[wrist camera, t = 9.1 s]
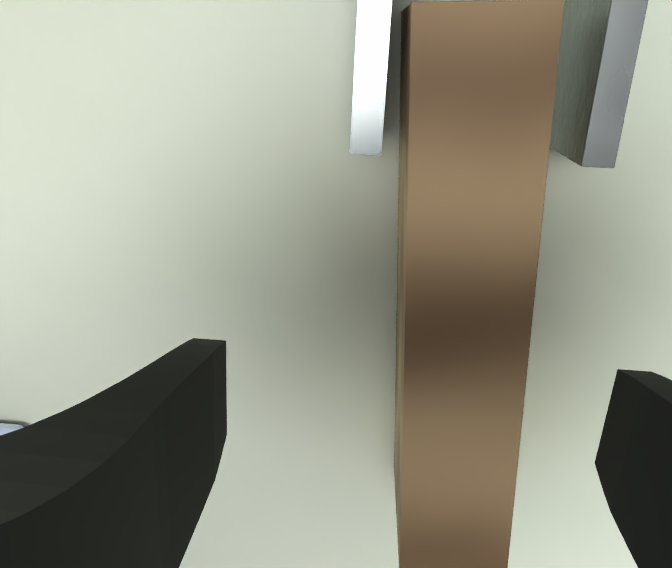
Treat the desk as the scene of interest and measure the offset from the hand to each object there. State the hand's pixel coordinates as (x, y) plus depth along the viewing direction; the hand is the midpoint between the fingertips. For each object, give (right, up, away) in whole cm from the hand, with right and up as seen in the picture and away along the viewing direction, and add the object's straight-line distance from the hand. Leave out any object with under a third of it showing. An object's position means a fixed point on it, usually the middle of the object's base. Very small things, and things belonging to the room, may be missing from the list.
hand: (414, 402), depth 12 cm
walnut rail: (+2, +3, +10) cm, 10 cm away
